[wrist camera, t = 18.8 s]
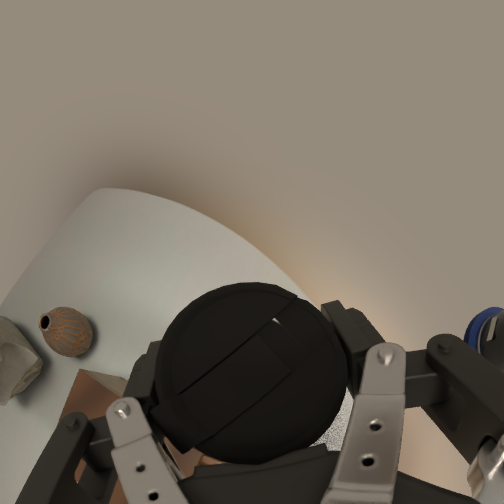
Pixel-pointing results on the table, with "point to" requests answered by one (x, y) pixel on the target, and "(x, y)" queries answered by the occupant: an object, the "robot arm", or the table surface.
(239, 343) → the travel mug
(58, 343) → the vase
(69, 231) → the table surface
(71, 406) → the cabinet
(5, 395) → the decorative stone
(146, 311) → the table surface
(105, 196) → the table surface
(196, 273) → the table surface
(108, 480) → the robot arm
